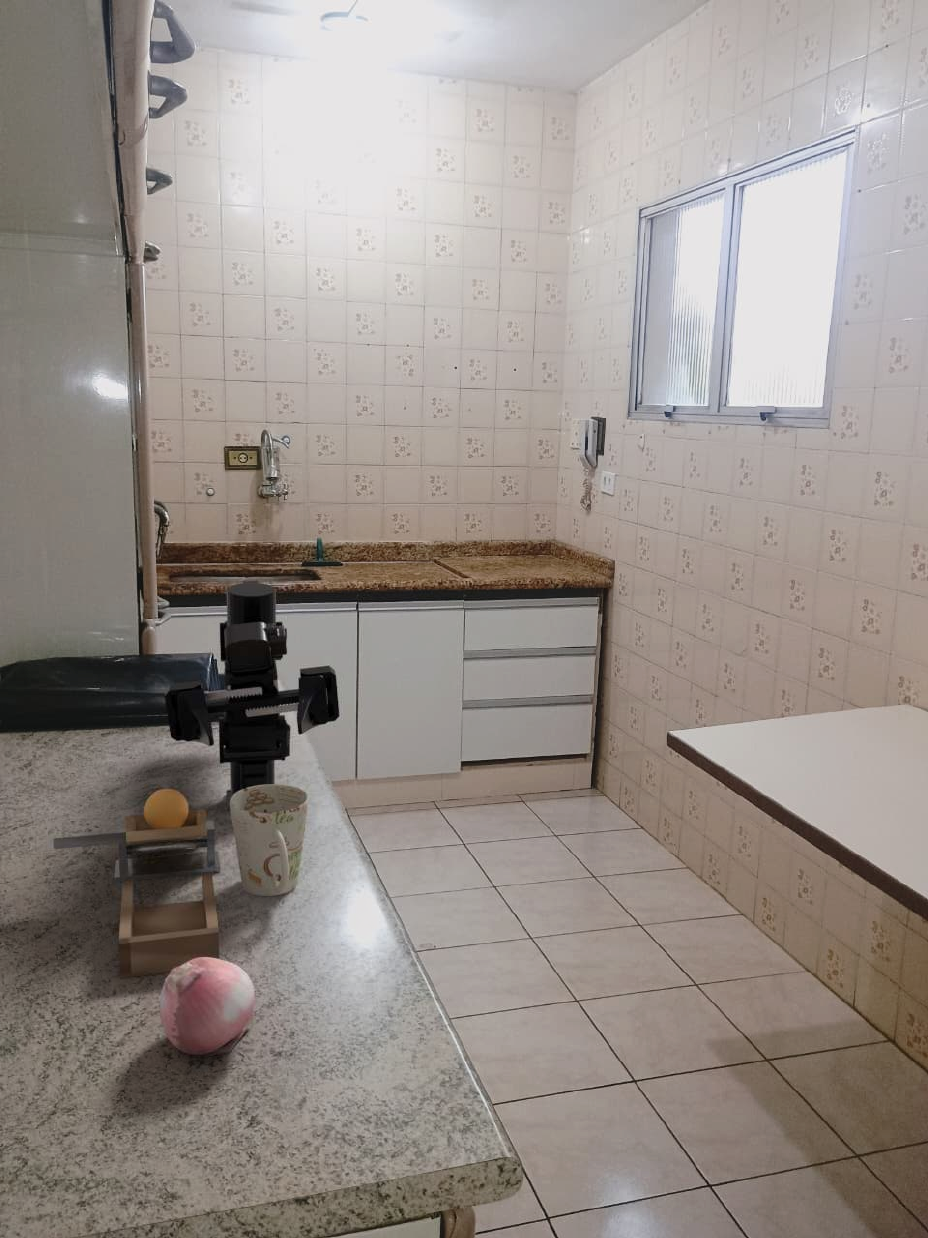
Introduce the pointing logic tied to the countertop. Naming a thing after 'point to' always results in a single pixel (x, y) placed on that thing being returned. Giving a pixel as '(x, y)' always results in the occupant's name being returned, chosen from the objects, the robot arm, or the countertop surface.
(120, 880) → the stand
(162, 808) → the ball
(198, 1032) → the onion
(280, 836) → the mug
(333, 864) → the countertop surface
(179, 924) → the tray
